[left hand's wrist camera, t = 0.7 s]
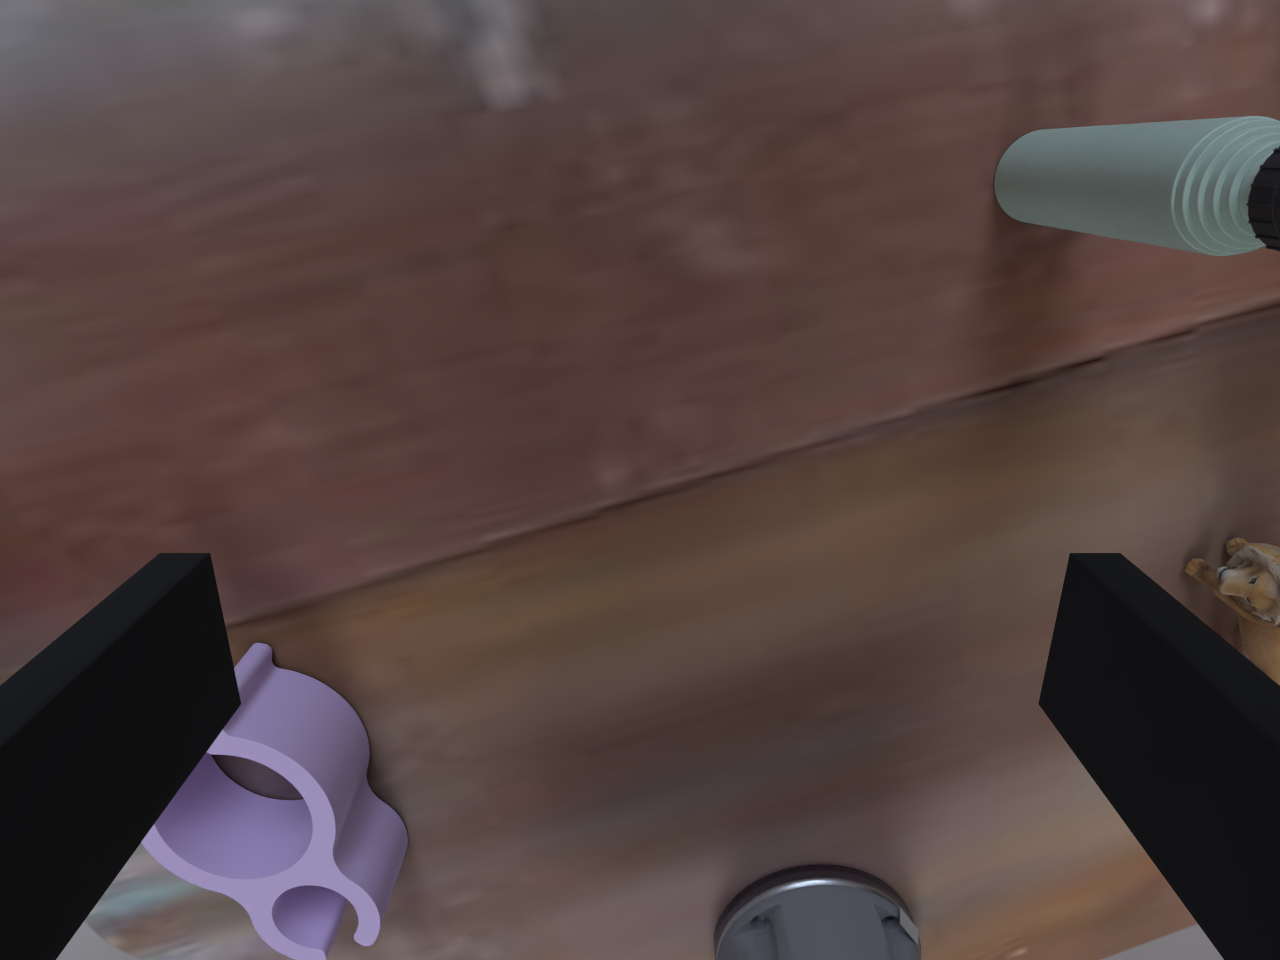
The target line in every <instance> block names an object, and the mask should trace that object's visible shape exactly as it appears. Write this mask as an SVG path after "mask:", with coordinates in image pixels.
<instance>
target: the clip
mask: <svg viewBox="0 0 1280 960" xmlns="http://www.w3.org/2000/svg"><path fill="white" fill-rule="evenodd" d="M234 671H235V676H236V680H237V685H238V690H239V695H240V700H241V705H240V707H239V708H238V709H237V711H236V712H235V713H234V715H233V716H232V718H231V719H230V720H229V722H228V723H227V724H226V726H225V727H224V729H223V730H222V731H221V733H220V734H219V735H218V737H217V738H216V740H215V741H214V742H213V744H212V745H211V746H210V748H209V749H208V751H207V752H206V753H205V755H204V756H203V758H202V759H201V760H200V762H199V763H198V764H197V766H196V767H195V769H194V770H193V771H192V773H191V774H190V775H189V777H188V778H187V780H186V781H185V782H184V784H183V785H182V786H181V788H180V789H179V791H178V792H177V793H176V795H175V796H174V797H173V799H172V800H171V802H170V803H169V804H168V806H167V807H166V808H165V810H164V811H163V813H162V814H161V815H160V817H159V818H158V820H157V821H156V822H155V824H154V825H153V826H152V828H151V829H150V831H149V832H148V833H147V835H146V836H145V837H144V839H143V840H142V842H141V843H142V844H143V846H144V847H145V848H146V850H147V851H148V852H149V853H150V854H151V855H152V856H153V857H154V858H155V859H156V860H157V861H158V862H159V863H160V864H161V865H163V866H164V867H165V868H167V869H168V870H169V871H171V872H172V873H174V874H175V875H177V876H179V877H180V878H182V879H184V880H186V881H188V882H190V883H192V884H195V885H197V886H200V887H202V888H205V889H208V890H212V891H215V892H219V893H222V894H225V895H227V896H229V897H231V898H233V899H234V900H236V901H237V902H238V903H240V904H241V905H242V906H243V907H244V908H245V909H246V911H247V912H248V914H249V915H250V917H251V920H252V923H253V925H254V927H255V929H256V931H257V933H258V934H259V935H260V937H261V938H262V939H263V940H264V941H265V942H266V943H267V944H268V945H269V946H271V947H272V948H273V949H275V950H276V951H278V952H280V953H281V954H283V955H285V956H288V957H290V958H292V959H295V960H326V959H327V956H328V954H329V951H330V948H331V946H332V943H333V941H334V938H335V936H336V933H337V931H338V928H339V925H340V923H341V920H342V918H343V915H344V913H345V910H346V907H347V905H348V902H349V901H350V902H351V904H352V905H353V906H354V908H355V910H356V912H357V915H358V920H359V923H358V926H357V929H356V932H355V934H354V940H355V941H356V942H357V943H359V944H361V945H363V946H370V945H372V944H373V943H374V942H375V940H376V938H377V936H378V934H379V931H380V928H381V925H382V922H383V919H384V916H385V913H386V910H387V907H388V904H389V901H390V898H391V895H392V892H393V889H394V886H395V883H396V880H397V877H398V874H399V871H400V868H401V865H402V862H403V859H404V856H405V853H406V850H407V846H408V835H407V831H406V828H405V825H404V823H403V821H402V820H401V818H400V817H399V815H398V814H397V813H396V812H395V811H394V810H393V809H392V808H391V807H390V806H388V805H387V804H386V803H384V802H383V801H381V800H380V799H379V798H378V797H377V796H376V795H375V794H374V793H373V792H372V790H371V789H370V787H369V784H368V781H367V769H368V764H369V757H370V748H369V741H368V737H367V733H366V731H365V728H364V726H363V724H362V722H361V720H360V718H359V717H358V715H357V714H356V712H355V711H354V709H353V708H352V707H351V706H350V705H349V704H348V702H347V701H346V700H345V699H344V698H342V697H341V696H340V695H339V694H338V693H337V692H335V691H334V690H333V689H331V688H330V687H328V686H327V685H325V684H323V683H322V682H320V681H318V680H316V679H314V678H312V677H309V676H307V675H304V674H301V673H298V672H295V671H291V670H286V669H281V668H277V667H276V666H274V665H273V663H272V649H271V647H270V646H268V645H267V644H263V643H255V644H253V645H252V646H251V647H250V649H249V650H248V651H247V653H246V654H245V655H244V656H243V658H242V659H241V660H240V661H239V663H238V664H237V665H236V666H235V668H234ZM211 754H212V755H231V756H238V757H242V758H246V759H250V760H253V761H256V762H258V763H261V764H263V765H265V766H267V767H269V768H271V769H273V770H274V771H276V772H278V773H279V774H281V775H282V776H283V777H285V778H286V779H287V780H288V781H289V782H290V783H291V784H293V786H294V787H295V788H296V789H297V790H298V791H299V792H300V794H301V795H302V797H303V798H304V799H300V800H278V799H272V798H267V797H263V796H260V795H257V794H255V793H252V792H250V791H248V790H246V789H244V788H242V787H241V786H239V785H238V784H236V783H235V782H233V781H232V780H231V779H230V778H229V777H227V776H226V775H225V774H224V773H223V772H222V770H221V769H220V768H219V767H218V765H217V764H216V762H215V761H214V759H213V757H212V755H211Z"/></svg>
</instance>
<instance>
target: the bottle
mask: <svg viewBox="0 0 1280 960" xmlns="http://www.w3.org/2000/svg"><path fill="white" fill-rule="evenodd" d="M1279 146H1280V121H1278V120H1275V119H1272V118H1269V117H1263V116H1246V117H1230V118H1215V119H1199V120H1183V121H1167V122H1152V123H1136V124H1120V125H1105V126H1089V127H1073V128H1057V129H1043V130H1037V131H1033V132H1030V133H1028V134H1026V135H1024V136H1022V137H1021V138H1019V139H1018V140H1016V141H1015V142H1014V143H1013V144H1012V145H1011V146H1010V147H1009V148H1008V149H1007V150H1006V152H1005V153H1004V155H1003V156H1002V158H1001V160H1000V162H999V164H998V167H997V170H996V174H995V182H994V187H995V194H996V198H997V200H998V203H999V205H1000V206H1001V208H1002V209H1003V210H1004V212H1005V213H1007V214H1008V215H1009V216H1010V217H1012V218H1013V219H1015V220H1018V221H1021V222H1025V223H1031V224H1037V225H1043V226H1048V227H1054V228H1060V229H1065V230H1071V231H1077V232H1083V233H1088V234H1094V235H1100V236H1105V237H1111V238H1117V239H1123V240H1128V241H1134V242H1140V243H1145V244H1151V245H1157V246H1163V247H1168V248H1174V249H1180V250H1185V251H1191V252H1197V253H1203V254H1208V255H1214V256H1228V255H1235V254H1240V253H1245V252H1250V251H1253V250H1255V249H1258V248H1260V247H1262V246H1264V245H1265V244H1264V243H1263V242H1262V241H1261V240H1260V239H1258V238H1255V236H1256V234H1255V233H1254V231H1253V229H1252V226H1251V224H1249V223H1248V221H1249V218H1248V217H1249V216H1248V206H1247V203H1248V198H1249V193H1250V190H1251V187H1250V186H1251V184H1253V180H1254V179H1255V176H1256V175H1257V173H1258V171H1259V170H1260V168H1259V167H1260V166H1261V165H1263V163H1264V162H1265V161H1266V159H1267V158H1268V157H1269V156H1270V155H1271V154H1272V153H1273V152H1274V151H1273V150H1274V149H1275V148H1278V147H1279Z"/></svg>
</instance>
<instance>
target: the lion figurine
mask: <svg viewBox="0 0 1280 960" xmlns="http://www.w3.org/2000/svg"><path fill="white" fill-rule="evenodd" d="M1226 548H1227V552H1228V553H1229V555H1230V556H1231V557H1232V558H1231V559H1230V560H1229V561H1227V563H1226V566H1225V567H1220V568H1219V569H1218V570H1217V572H1216V571H1215V570H1214V569H1213V568H1212V567H1210V566H1208V565H1207V564H1206V562H1205V561H1204V560H1203V559H1200V558H1193V559H1191V560H1190V561H1189V562H1188V563H1187V565H1186V567H1185V568H1184V571H1185V572H1186V573H1188V574H1189V575H1191V576H1192V577H1194V578H1195V579H1197V580H1198V581H1200V582H1202V583H1204V584H1205V585H1207V586H1208V587H1209V588H1210V589H1211V590H1212V591H1213V592H1214V593H1215V595H1216V596H1217V597H1218V598H1220V599H1221V600H1222V601H1224V602H1225V603H1226V604H1227V605H1229V606H1230V607H1232V608H1233V609H1234V610H1236V611H1237V612H1238V624H1239V630H1240V635H1241V639H1242V643H1243V646H1244V648H1245V650H1246V652H1247V654H1248V656H1249V658H1250V661H1251V662H1252V663H1253V664H1254V665H1255V666H1257V667H1258V668H1259V669H1260V670H1261V671H1263V672H1264V673H1265V674H1266V675H1267V676H1269V677H1270V678H1271V679H1272V680H1273V681H1275V682H1276V683H1277V684H1278V685H1279V686H1280V547H1277V546H1274V545H1270V544H1267V543H1248V542H1247V541H1246V540H1244V539H1243V538H1239V537H1236V538H1233V539H1231V540H1229V541H1228V542H1227V545H1226Z"/></svg>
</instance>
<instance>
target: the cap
mask: <svg viewBox="0 0 1280 960" xmlns="http://www.w3.org/2000/svg"><path fill="white" fill-rule="evenodd" d="M1273 151H1274V152H1273V153H1272V154H1271V155H1270V156H1269V157H1268V158H1267V159H1266V161H1265V162H1264V163H1263V165H1261V166H1260V167H1259V168H1260V170H1259V171H1258V173H1257V175H1256V176H1255V179H1254V180H1253V184H1251V186H1250V187H1251V190H1250V193H1249V198H1248V203H1247V206H1248V216H1249V217H1248V218H1249V221H1248V223H1249V224H1251V226H1252V229H1253V231H1254V233H1255V234H1256V236H1255V238H1258V239H1260V240H1261V241H1262V242H1263V243H1264V244H1265V245H1267V247H1266V248H1267V249H1273V250H1277V251H1280V146H1279V147H1278V148H1275V149H1274V150H1273Z"/></svg>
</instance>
